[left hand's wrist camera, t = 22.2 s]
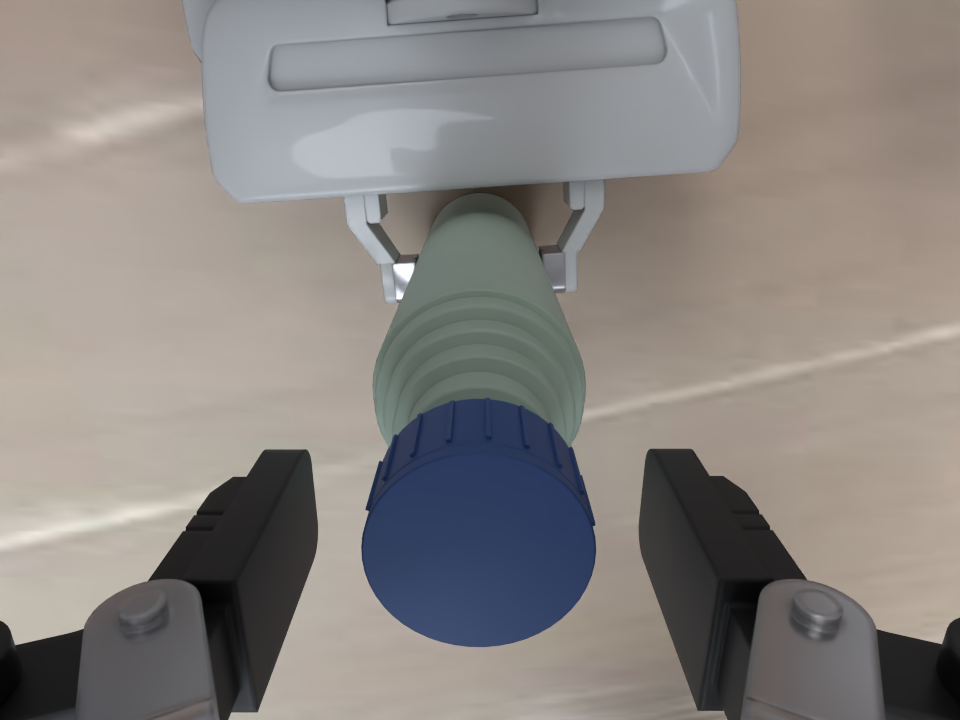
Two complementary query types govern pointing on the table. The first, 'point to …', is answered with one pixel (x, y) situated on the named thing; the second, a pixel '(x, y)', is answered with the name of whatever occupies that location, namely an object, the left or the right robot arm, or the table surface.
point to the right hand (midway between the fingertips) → (482, 294)
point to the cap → (478, 525)
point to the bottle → (479, 325)
